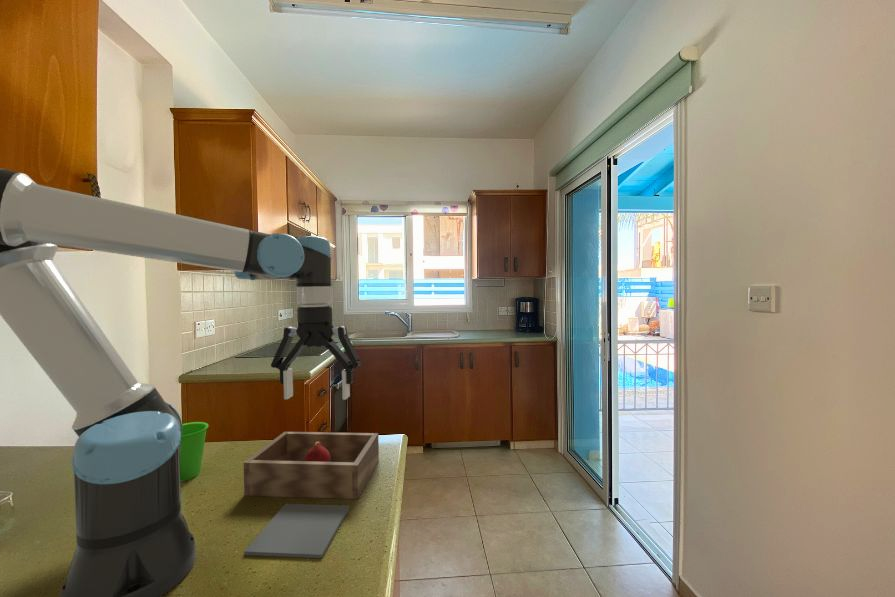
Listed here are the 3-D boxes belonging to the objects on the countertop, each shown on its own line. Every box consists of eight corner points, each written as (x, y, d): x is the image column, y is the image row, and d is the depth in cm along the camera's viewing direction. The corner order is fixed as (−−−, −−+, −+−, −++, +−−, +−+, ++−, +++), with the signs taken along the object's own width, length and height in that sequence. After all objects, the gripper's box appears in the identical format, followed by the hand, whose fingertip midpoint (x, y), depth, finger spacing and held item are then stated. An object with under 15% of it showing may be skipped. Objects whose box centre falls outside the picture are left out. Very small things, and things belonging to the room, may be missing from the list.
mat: (244, 555, 58) (244, 551, 58) (285, 506, 71) (285, 503, 71) (321, 558, 57) (321, 554, 57) (349, 508, 70) (349, 505, 70)
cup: (214, 463, 89) (213, 419, 89) (202, 482, 81) (201, 433, 80) (171, 469, 86) (170, 424, 86) (154, 489, 78) (152, 439, 77)
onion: (325, 483, 79) (324, 448, 79) (299, 483, 80) (299, 448, 79) (334, 470, 85) (333, 437, 85) (310, 470, 85) (309, 437, 85)
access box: (244, 495, 75) (243, 462, 75) (284, 458, 91) (284, 431, 91) (358, 498, 73) (357, 465, 73) (378, 460, 90) (378, 433, 90)
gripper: (373, 304, 84) (375, 393, 85) (271, 305, 86) (273, 392, 87) (363, 305, 77) (365, 403, 78) (252, 307, 79) (255, 402, 79)
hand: (317, 397), depth 82 cm, fingers open, 13 cm apart
